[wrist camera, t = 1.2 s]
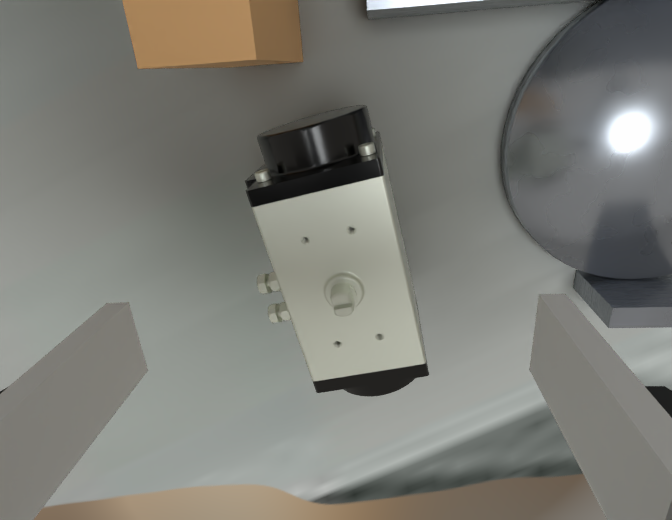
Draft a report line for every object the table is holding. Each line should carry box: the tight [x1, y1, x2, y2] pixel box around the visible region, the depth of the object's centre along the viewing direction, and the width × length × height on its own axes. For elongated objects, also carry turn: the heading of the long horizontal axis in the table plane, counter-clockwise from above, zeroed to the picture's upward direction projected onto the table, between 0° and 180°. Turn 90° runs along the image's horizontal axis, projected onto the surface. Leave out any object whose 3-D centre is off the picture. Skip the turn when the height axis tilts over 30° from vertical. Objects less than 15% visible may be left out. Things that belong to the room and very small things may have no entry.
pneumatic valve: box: [245, 105, 429, 396], centre depth 21 cm, size 6×12×12 cm, turn 15°
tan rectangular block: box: [122, 0, 303, 69], centre depth 18 cm, size 4×4×10 cm
